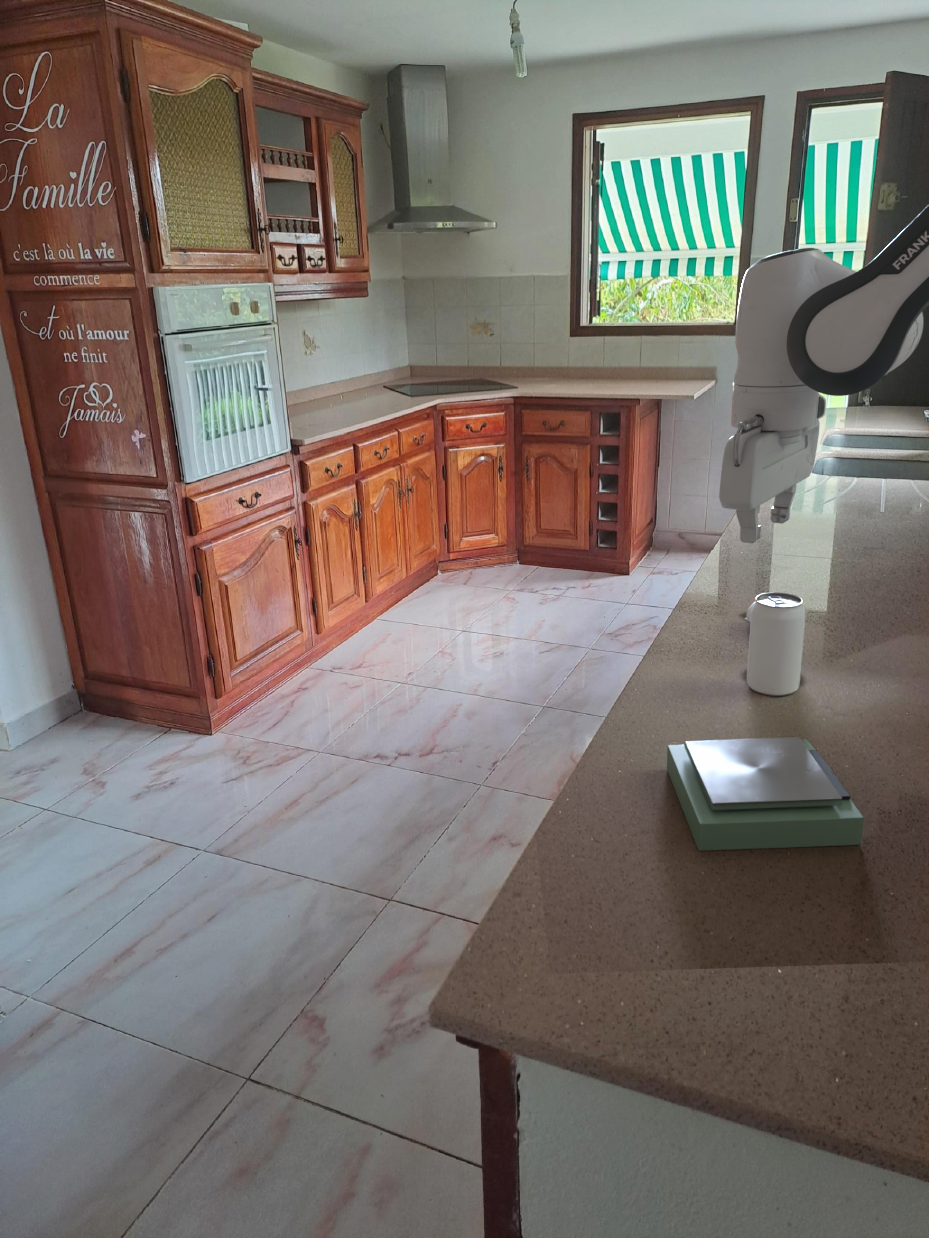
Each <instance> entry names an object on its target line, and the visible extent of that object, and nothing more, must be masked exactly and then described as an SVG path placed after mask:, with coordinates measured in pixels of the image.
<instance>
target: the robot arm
mask: <svg viewBox="0 0 929 1238" xmlns="http://www.w3.org/2000/svg"><path fill="white" fill-rule="evenodd" d="M928 306H929V204H927V205H926V206H925V208H923V210H922V211H920V213H919V214H918V215H917V216H916V217H915V218H913V220H912V221H911V222H910V223H909V224H908V225H907V226H905V228H904V229H903V230H902V231H901V232H900V233H899V234H898V235H897V236H896V237H895V238H894V239H892V241H891V242H890V243H889V244H888V245H887V246H886V247H885V248H884V249H883V250H882V251H881V252H880V253H879V254H878V255H876V257H874V258H873V259H872V260H871V261H870V262H869V263H868V264H866V265H865V266H864V267H862V268H861V269H859V270H857V271H856V270H854V269H851V268H849V267H847V266H845V265H843V264H841V263H840V262H837V261H835V260H833V259H832V258H831V257H829V256H828V255H827V254H825V252H823V251H822V250H821V249H819V248H815V247H802V248H797V249H793V250H787V251H781V252H779V253H778V252H777V253H774V254H771V255H768V256H765V257H762V258H760V259H758V260H757V261H755V262H754V263H752V264H751V265H750V267H748V269H747V270H746V271H745V274H744V276H743V279H742V283H741V287H740V292H739V297H738V305H737V314H736V324H735V341H734V342H735V343H734V344H735V347H736V352H737V367H736V370H735V373H734V376H733V381H732V397H731V400H732V401H731V419H730V426H731V427H733V428H735V429H737V430H736V433H734V434H733V435H732V436H731V437H730V438H728V440H727V442H726V443H725V447H724V451H723V456H722V463H721V473H720V480H719V481H720V483H719V493H718V498H719V501H720V502H719V503H720V506H721V507H722V508H723V509H728V510H735V513H736V517H737V521H738V524H739V529H740V530H739V540H740V541H741V542H742V543H745V544H746V543H747V544H755V543H756V542H758V541H759V540H760V538H761V532H762V525H761V524H759V516H758V514H760V512H761V506H762V505H763V504H764V503H766V502H768V501H769V500H771V499H773V498H774V502H773V506H772V507H771V508H770V521H771V523H773V524H782V525H783V524H785V523H786V522H788V521H789V520H790V519H791V518H790V517H791V507H792V505H793V501H794V499H795V495H796V493H797V484H799V483H801V482H803V481H804V480H806V479H807V478H809V477H810V476H811V474H812V472H813V469H814V465H815V461H816V454H817V449H818V443H819V435H820V426H821V425H820V424H821V423H820V420H819V419H822V418H824V417H825V415H826V408H827V399H826V397H824V395H827V396H833V397H843V396H851V395H854V394H858V393H860V392H863V391H865V390H867V389H869V388H871V387H873V386H874V385H875V384H877V383H878V382H879V381H880V380H881V379H883V377H884V376H886V375H887V374H888V373H890V372H892V371H894V370H895V369H897V368H898V367H899V366H901V365H902V364H903V363H904V362H905V361H906V360H908V359H909V358H910V357H911V356H912V354H913V353H914V352H915V351H916V349H917V348H918V346H919V344H920V342H921V340H922V337H923V334H924V327H925V316H924V310H925V309H926V308H927V307H928ZM822 394H823V396H822Z"/></svg>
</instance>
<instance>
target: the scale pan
mask: <svg viewBox="0 0 929 1238" xmlns="http://www.w3.org/2000/svg"><path fill="white" fill-rule="evenodd" d="M801 740H802V739H801V738H800V737H799V736H785V737H760V738H738V739H737V738H736V739H734V738H733V739H713V740H710V739H709V740H689V741H688V740H687V741H686V740H685V741H684V745H685V750H686V752H687V754H688V757H689V759H690V761H691V763H692V766H693V768H694V770H695V772H696V775H697V777H698V779H699V781H700V784H701V786H702V788H703V790H704V793H705V795H706V797H707V799H708V802H709V804H710V806H711V808H712V810H733V809H758V808H784V807H810V806H836V805H842V797H841V796H840V794H839V793H838V791H837V790H836V789H835V787H834V786H833V784H832V783H831V782H830V780H829V779H828V777H827V776H826V775H825V773H824V772H823V770H822V769H821V768H820V766H819V765H818V763H817V762H816V760H815V759H814V758H813V756H812V755H811V753H810V752H809V751H808V749H807V748H806V746H805V745H804V744H803V742H802V741H801Z"/></svg>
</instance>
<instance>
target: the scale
mask: <svg viewBox="0 0 929 1238" xmlns="http://www.w3.org/2000/svg"><path fill="white" fill-rule="evenodd" d="M801 741H802V742H803V744H804V745H805V746H806V748H807V749H808V751H809V752H810V753H811V755H812V756H813V758H814V759H815V760H816V762H817V763H818V765H819V766H820V768H821V769H822V770H823V772H824V773H825V775H826V776H827V777H828V779H829V780H830V782H831V783H832V784H833V786H834V787H835V789H836V790H837V791H838V793H839V794H840V796H841V797H842V805H836V806H810V807H784V808H758V809H733V810H712V808H711V806H710V804H709V802H708V799H707V797H706V795H705V793H704V790H703V788H702V786H701V784H700V781H699V779H698V777H697V775H696V772H695V770H694V768H693V766H692V763H691V761H690V759H689V757H688V754H687V752H686V750H685V744H667V746H666V747H667V751H666V754H667V755H666V771H667V773H668V775H669V776H668V777H669V779H670V781H671V783H672V786H673V789H674V791H675V793H676V796H677V799H678V802H679V804H680V806H681V809H682V812H683V814H684V817H685V819H686V822H687V825H688V827H689V830H690V832H691V834H692V839H693V840H694V842H695V845H696V848H697V850H698V852H705V851H706V852H707V851H730V850H731V851H732V850H734V851H735V850H736V851H737V850H759V849H784V848H785V849H787V848H811V847H814V848H815V847H837V846H838V847H839V846H840V847H841V846H842V847H843V846H861V844H862V836H863V829H864V827H863V826H864V816H863V814H862V813H861V812H860V810H859V809H858V808H857V806H856V805H855V804H854V802H853V801H852V799H851V795H850V793H849V792H848V791H847V789H846V788H845V787H844V785H843V784H842V782H840V780H839V779H838V777H837V776H836V774H835V773H834V771H833V770H832V768H831V767H830V766H829V765H828V763H827V762H826V760H825V759H824V758H823V756H822V755H821V754H820V752H819V751H818V750H817V749H815V748H814V747H813V746H812V744H811V742H810V741H809V740H808V739H801Z"/></svg>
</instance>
